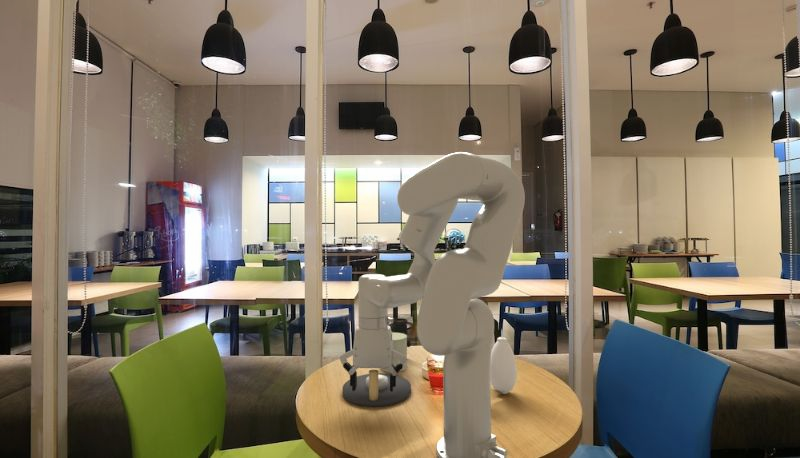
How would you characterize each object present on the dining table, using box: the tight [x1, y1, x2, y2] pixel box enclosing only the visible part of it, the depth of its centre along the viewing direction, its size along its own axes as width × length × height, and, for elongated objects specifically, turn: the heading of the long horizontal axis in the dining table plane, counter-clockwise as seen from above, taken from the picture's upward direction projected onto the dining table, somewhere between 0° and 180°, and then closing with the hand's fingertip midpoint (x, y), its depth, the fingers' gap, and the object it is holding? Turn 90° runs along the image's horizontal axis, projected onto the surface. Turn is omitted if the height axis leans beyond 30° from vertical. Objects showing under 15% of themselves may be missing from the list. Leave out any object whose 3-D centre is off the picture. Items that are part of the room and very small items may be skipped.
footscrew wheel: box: [342, 368, 412, 408], centre depth 103 cm, size 19×19×8 cm
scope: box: [392, 317, 412, 348], centre depth 135 cm, size 8×14×10 cm
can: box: [379, 332, 408, 373], centre depth 122 cm, size 9×9×12 cm
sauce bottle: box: [490, 329, 518, 395], centre depth 105 cm, size 8×8×18 cm
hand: (373, 388), depth 95 cm, fingers open, 9 cm apart
